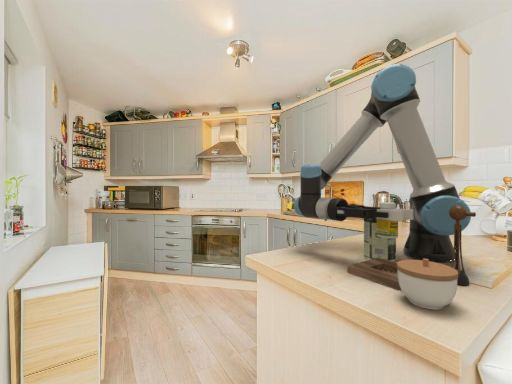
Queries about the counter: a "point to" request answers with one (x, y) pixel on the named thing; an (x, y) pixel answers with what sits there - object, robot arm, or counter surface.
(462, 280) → the wooden tabletop sculpture
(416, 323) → the counter surface
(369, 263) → the walnut socket plate
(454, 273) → the lidded jar
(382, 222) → the supplement bottle
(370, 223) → the coffee can
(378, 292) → the counter surface
